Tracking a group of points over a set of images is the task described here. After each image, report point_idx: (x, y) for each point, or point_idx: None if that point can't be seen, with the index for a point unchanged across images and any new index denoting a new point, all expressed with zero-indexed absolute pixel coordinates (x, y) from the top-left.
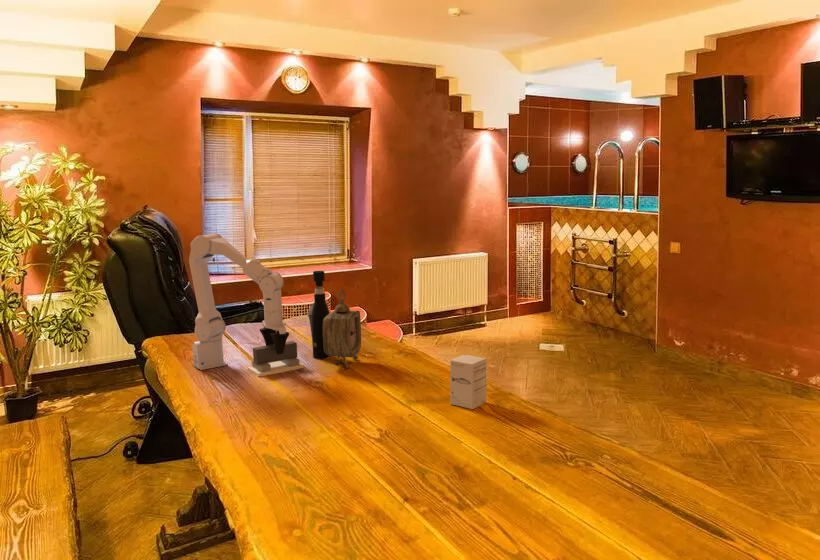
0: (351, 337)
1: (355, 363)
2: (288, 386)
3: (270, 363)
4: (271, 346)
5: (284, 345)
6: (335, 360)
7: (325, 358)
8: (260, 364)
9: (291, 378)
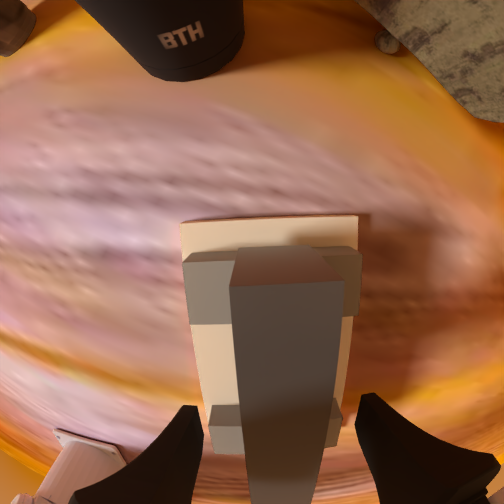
0: None
1: None
2: (485, 358)
3: (206, 365)
4: (301, 472)
5: (409, 424)
6: (390, 46)
7: (243, 36)
8: None
9: (443, 332)
